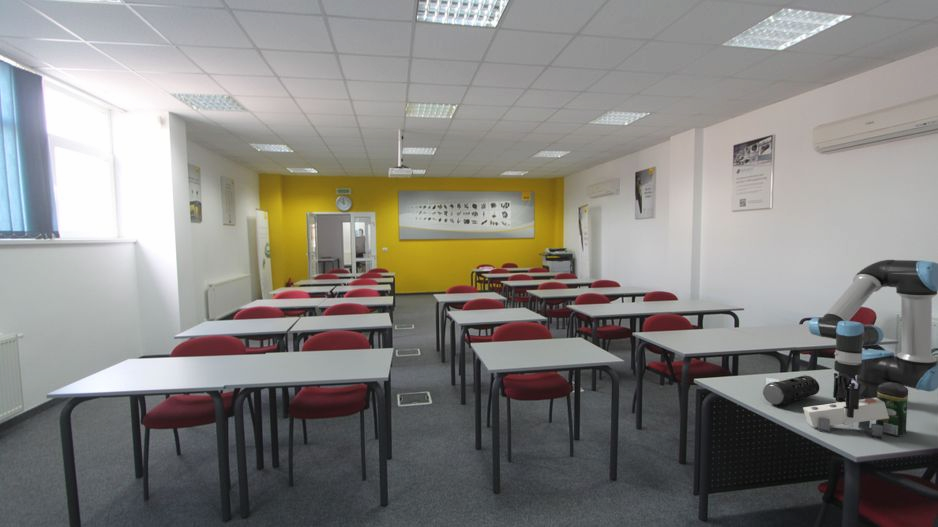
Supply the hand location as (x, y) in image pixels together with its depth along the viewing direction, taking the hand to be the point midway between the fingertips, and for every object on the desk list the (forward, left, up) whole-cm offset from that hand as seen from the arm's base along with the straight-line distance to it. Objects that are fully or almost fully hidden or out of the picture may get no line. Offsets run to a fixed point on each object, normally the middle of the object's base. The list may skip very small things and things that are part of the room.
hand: (844, 421), depth 161 cm
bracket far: (+8, 0, -3) cm, 8 cm away
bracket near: (-8, 0, -3) cm, 9 cm away
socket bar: (-1, 0, +1) cm, 1 cm away
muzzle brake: (+8, -27, -4) cm, 28 cm away
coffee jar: (-16, -4, -4) cm, 17 cm away
